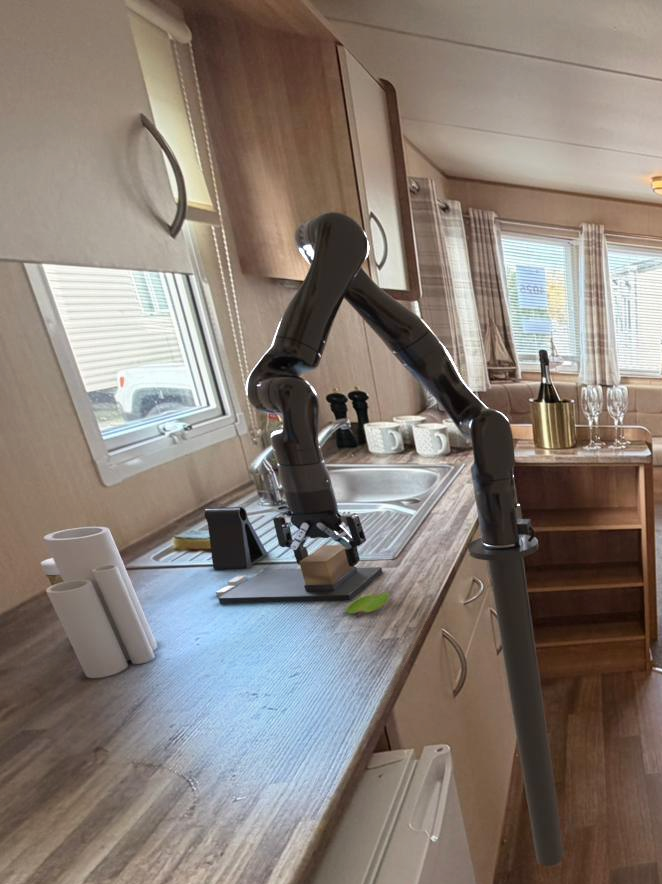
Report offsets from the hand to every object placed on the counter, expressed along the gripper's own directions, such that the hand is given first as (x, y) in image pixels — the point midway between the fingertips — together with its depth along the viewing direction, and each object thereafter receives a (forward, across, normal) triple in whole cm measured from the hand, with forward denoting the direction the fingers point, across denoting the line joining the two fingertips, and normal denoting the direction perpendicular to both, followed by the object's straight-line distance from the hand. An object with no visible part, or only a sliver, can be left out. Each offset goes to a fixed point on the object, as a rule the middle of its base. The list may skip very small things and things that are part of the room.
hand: (330, 565), depth 127 cm
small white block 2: (+4, +19, -3) cm, 20 cm away
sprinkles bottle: (+4, +28, +19) cm, 34 cm away
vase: (+4, +17, +28) cm, 34 cm away
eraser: (+3, 0, 0) cm, 3 cm away
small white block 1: (+3, +18, +2) cm, 18 cm away
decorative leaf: (+5, -10, +10) cm, 15 cm away
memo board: (+4, +5, 0) cm, 7 cm away
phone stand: (+5, +25, -16) cm, 30 cm away
